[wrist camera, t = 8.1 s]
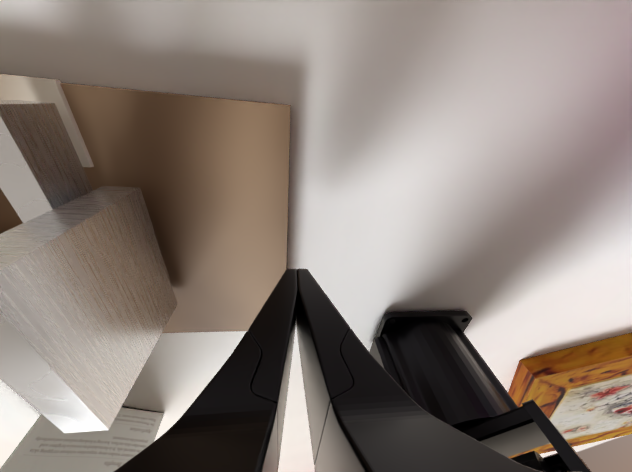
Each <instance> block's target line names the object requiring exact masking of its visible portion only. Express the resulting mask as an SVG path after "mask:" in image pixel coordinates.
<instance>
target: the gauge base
mask: <svg viewBox="0 0 632 472" xmlns="http://www.w3.org/2000/svg"><path fill="white" fill-rule="evenodd" d="M0 100H24V101H35V102H47V103H55V105H56V107H57V110H58V112H59V114H60V116H61V119H62V121H63V123H64V126H65V128H66V130H67V132H68V135H69V137H70V139H71V142H72V144H73V146H74V148H75V151H76V153H77V155H78V158H79V160H80V162H81V164H82V167H83V169H84V171H85V174H86V176H87V178H88V180H89V183H90V185H91V187H92V190H93V191H94V190H96V189H98V188H100V187H102V186H114V187H135V188H140V189H141V192H142V195H143V198H144V201H145V204H146V207H147V210H148V214H149V217H150V220H151V223H152V226H153V229H154V232H155V235H156V238H157V241H158V244H159V248H160V251H161V254H162V257H163V260H164V263H165V266H166V269H167V272H168V275H169V278H170V282H171V285H172V288H173V291H174V294H175V297H176V300H177V303H178V305H177V307H176V309H175V310H174V312H173V314H172V316H171V318H170V319H169V321H168V323H167V325H166V327H165V328H164V330H163V332H162V333H179V332H219V331H248V329H249V327H250V326H251V324H252V323H253V321H254V319H255V318H256V316H257V315H258V313H259V311H260V310H261V308H262V307H263V305H264V304H265V302H266V300H267V299H268V297H269V296H270V294H271V293H272V291H273V289H274V288H275V286H276V285H277V283H278V282H279V280H280V278H281V277H282V275H283V274H284V272H285V270H286V265H287V225H288V186H289V146H290V106H291V105H284V104H274V103H264V102H253V101H243V100H233V99H223V98H212V97H202V96H192V95H182V94H171V93H161V92H151V91H141V90H131V89H120V88H110V87H100V86H90V85H79V84H69V83H61V81H60V80H57V79H47V78H37V77H27V76H17V75H7V74H0ZM21 224H23V222H22V220H21V219H20V217H19V216H18V214H17V213H16V211H15V210H14V208H13V207H12V205H11V204H10V202H9V200H8V199H7V197H6V196H5V194H4V193H3V191H2V190H1V188H0V234H1V233H3V232H5V231H8V230H10V229H12V228H14V227H16V226H18V225H21Z"/></svg>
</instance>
